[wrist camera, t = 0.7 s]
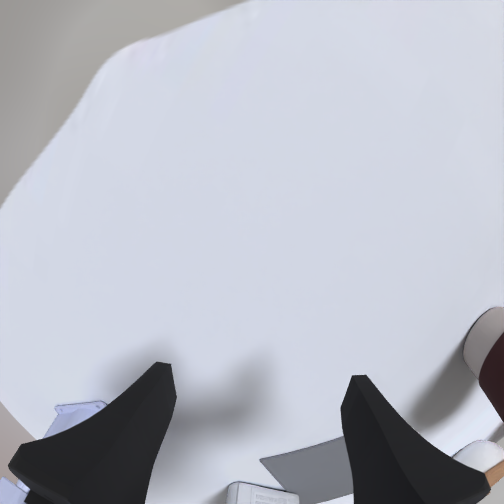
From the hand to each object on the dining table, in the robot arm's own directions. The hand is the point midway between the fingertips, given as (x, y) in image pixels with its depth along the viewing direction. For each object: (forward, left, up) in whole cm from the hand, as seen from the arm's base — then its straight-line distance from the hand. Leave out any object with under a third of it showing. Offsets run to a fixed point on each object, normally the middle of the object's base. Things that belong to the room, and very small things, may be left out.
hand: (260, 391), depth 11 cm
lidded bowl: (+21, -45, -11) cm, 51 cm away
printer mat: (-1, -29, -11) cm, 31 cm away
